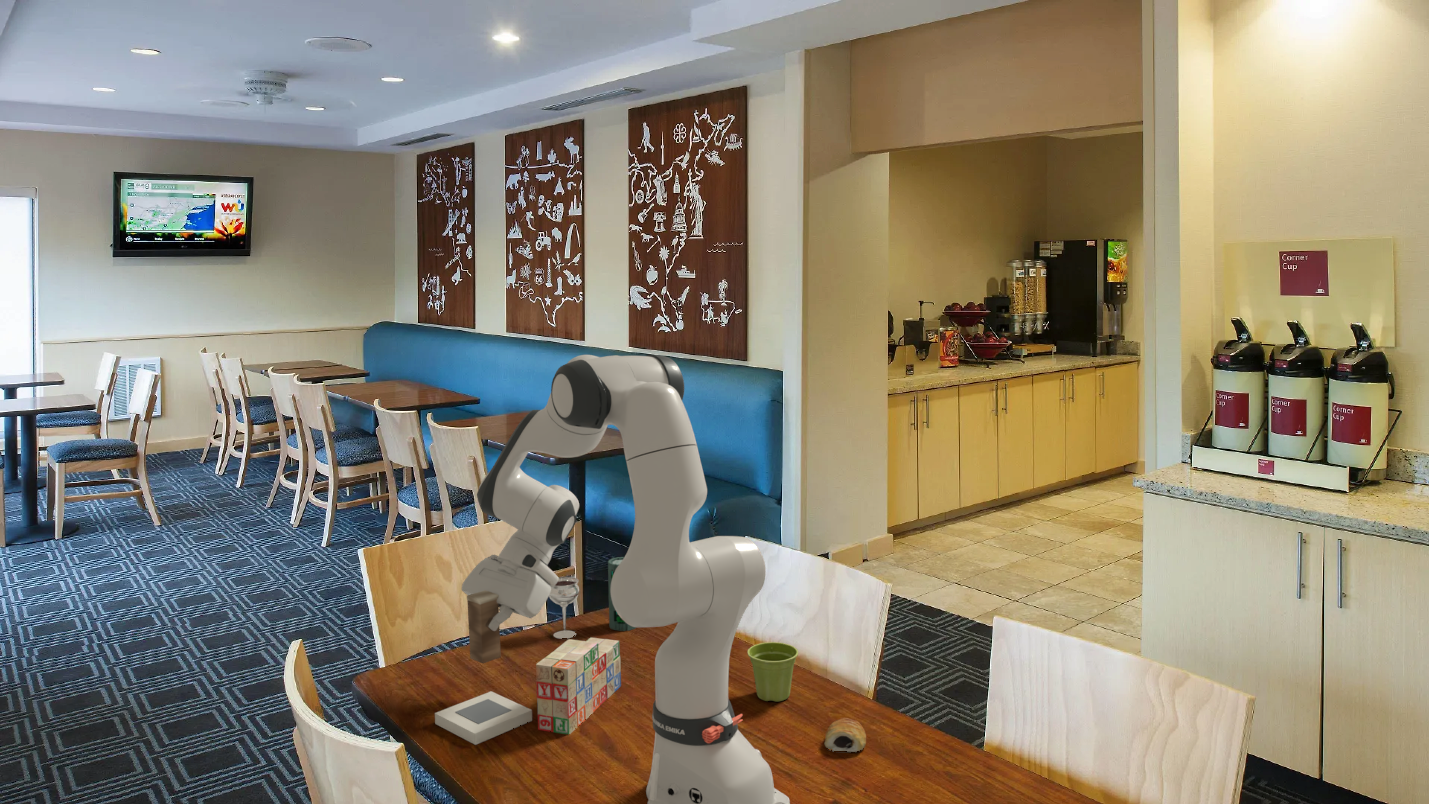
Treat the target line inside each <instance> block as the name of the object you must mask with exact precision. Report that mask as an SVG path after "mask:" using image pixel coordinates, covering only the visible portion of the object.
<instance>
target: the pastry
mask: <svg viewBox="0 0 1429 804" xmlns="http://www.w3.org/2000/svg"><path fill="white" fill-rule="evenodd" d="M823 744H824V746H825V748H828V749H830V750H829V751H831V749H832V752H834V751H847V752H846V753H851V752H855V753H857V751H859V752H861V751H862V750H864V749H865V748H866V744H867V734H866V730H865V729H864V727H863V726H862V724H861V722H859V721H858V720H855V719H852V718H849V717H843V718H840V719H836V720H835V721H833V722H832V723H831V724H830V725H829V726H828V728H827V730H826V731H825V740H824V743H823ZM863 748H864V749H863ZM828 749H827V750H828ZM860 750H861V751H860Z"/></svg>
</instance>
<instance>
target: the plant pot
mask: <svg viewBox="0 0 1429 804" xmlns="http://www.w3.org/2000/svg"><path fill="white" fill-rule="evenodd" d="M747 655H748V657H749V659H750V662H751V665H752V672H753V675H754V676H753V677H754V684H755V689H756V696H757V697H758V698H759V699H760V700H762V701H764V702H768V701H772V702H775V703H777V702H782V701H784V700H787V699H789V697H790V695H791V688H792V680H793V672H794V664H795V663H796V659H797V657H798V656H799V650H798V649H797V648H796V647H795V646H794V645H792V644H788V643H784V642H779V641H778V642H776V641H772V642H771V641H770V642H760V643H757V644H754V645H752V646H751V647H749V648H748V649H747Z"/></svg>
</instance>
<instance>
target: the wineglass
mask: <svg viewBox="0 0 1429 804" xmlns="http://www.w3.org/2000/svg"><path fill="white" fill-rule="evenodd" d="M558 578H559V580H558V582H557V583H556V585H555V586H553V587H551V586H550V587H551V592H550V595H549V597H548V598H549V599H550V601H552V602H553V603H555V604H556V605H559V606H560V607H561V609H562V611H561V612H562V622H563V630H559V631H556V632H554V633H553V637H554V638H556V639H561V640H563V639H562V638H567V639H570V638H573V636H574V635H575V636H576V635H577V633H575V632H576V631H574V630H569V629H568V630H567V629H566V627H567V623H566V621H567V619H566V618H567V613H566V612H567V607H568V605H569V604H572V603H574V601H576V599H578V598H579V597H578V596H579V594H580V587H579V585H578V584H579V582H580V581H579V579H578V578H576V577H573V576H560V577H558ZM575 636H574V637H575Z"/></svg>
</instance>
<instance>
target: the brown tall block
mask: <svg viewBox="0 0 1429 804" xmlns="http://www.w3.org/2000/svg"><path fill="white" fill-rule="evenodd" d="M497 599H498V594H495V593H492V592H489V591H486V590H485V591H481V592H478V593H474V594H471V595H466V600H467V619H468V640H469V658H470V659H471V660H473V661H476V662H479V663H481V664H486V663H488V662H491V661H494V660H497V659H500V658H501V657H502V654H501V653H502V651H501V633H500V631H501V629H500V628H501V627H500V626H499V627H498V628H497V630H496V631H492V630H490V629H488V628H487V627H486V623H487V622H488V620H489V618H493V617H494V616H495V615H496V614H497V613H499V612H500V611H499V606H498V603H497Z"/></svg>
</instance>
